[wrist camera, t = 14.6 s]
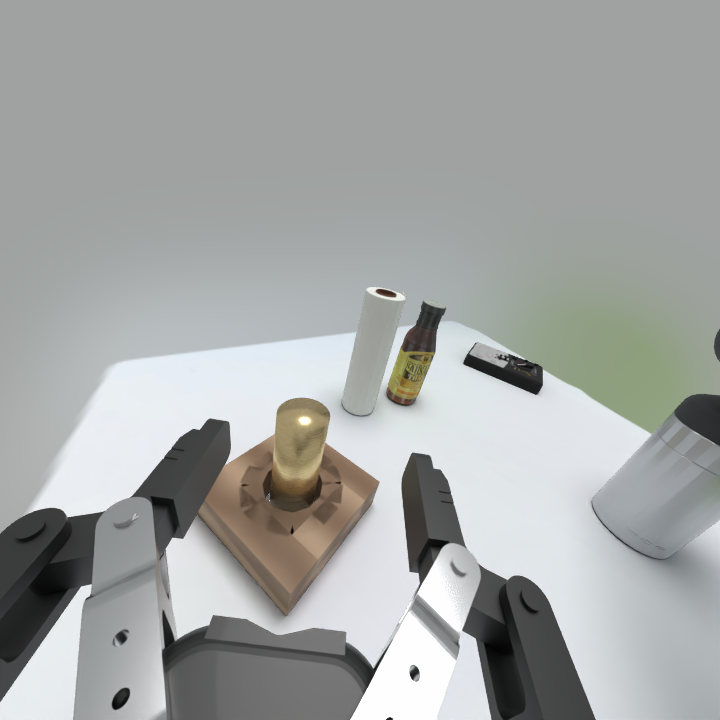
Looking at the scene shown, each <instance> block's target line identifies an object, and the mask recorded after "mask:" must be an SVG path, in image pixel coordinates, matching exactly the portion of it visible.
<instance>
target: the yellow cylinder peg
mask: <svg viewBox="0 0 720 720" xmlns="http://www.w3.org/2000/svg"><path fill="white" fill-rule="evenodd" d="M329 420H330V413H329V411H328V409H327V408H326V407H325V406H324V405H323V404H322V403H320V402H318V401H316V400H313V399H309V398H295V399H291V400H288V401H286V402H284V403H283V404H282V405H281V406H280V407H279V408H278V410H277V417H276V429H275V442H274V454H273V467H272V479H271V492H270V504H271V505H272V506H273V507H275V508H276V509H279V510H284V511H288V512H296V511H299V510H302V509H306V508H309V507H310V506H311V505H312V504H313V502H314V496H315V491H316V486H317V481H318V476H319V471H320V466H321V461H322V456H323V451H324V446H325V441H326V436H327V430H328V425H329Z"/></svg>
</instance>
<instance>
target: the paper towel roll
mask: <svg viewBox="0 0 720 720" xmlns="http://www.w3.org/2000/svg"><path fill="white" fill-rule="evenodd" d="M405 299H406V296H405V294H404V292H403V294H400V293H397V292H395V291H392V290H388V289H383V288H377V287H369V288H367V289H366V293H365V297H364V302H363V306H362V311H361V316H360V320H359V325H358V329H357V334H356V338H355V343H354V348H353V352H352V357H351V361H350V366H349V371H348V375H347V380H346V385H345V389H344V394H343V398H342V405H343V407H344V408H345V409H346V410H347V411H348V412H350V413H352V414H355V415H361V416H363V415H368V414H370V413H372V411H373V409H374V407H375V403H376V400H377V396H378V393H379V389H380V386H381V382H382V379H383V376H384V372H385V369H386V365H387V362H388V358H389V355H390V351H391V348H392V344H393V341H394V337H395V334H396V331H397V327H398V324H399V320H400V317H401V313H402V310H403V306H404V303H405Z"/></svg>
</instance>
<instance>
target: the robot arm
mask: <svg viewBox="0 0 720 720" xmlns="http://www.w3.org/2000/svg"><path fill="white" fill-rule="evenodd" d="M714 349H715V354H716V356H717V359H718V360H719V361H720V329H719V331H718V333H717V335H716V338H715V343H714ZM230 449H231V441H230V425H229V422H228V421H222V420H216V419H208V420H207V421H206V423H205V424H204V425H203V426H202V428H201V429H200V430H196V429H192V430H191V431H189V432H188V433H186V434H185V435H183V436H182V437H180V438H179V440H178V441H177V442H176V443H175V444H174V446H173V447H172V449H171V450H170V451H169V452H168V453H167V454H166V455H165V457H164V459H162V460H161V462H160V463H159V464H158V465H157V467H156V468H155V469H154V470H153V471H152V473H151V474H150V475H149V476H148V478H147V479H146V480H145V481H144V482H143V484H142V485H141V486H140V487H139V489H138V490H137V491H136V492H135V493H134V494H133V496H131V497H130V498H127V499H124V500H122V501H119V502H117V503H116V504H114V505H112V506H111V507H110V508H108V509H107V510H106V511H104V512H99V513H93V514H87V515H80V516H74V517H67V516H66V514H65V513H64V512H63V511H62V510H60V509H57V508H46V509H41V510H38V511H34V512H32V513H29V514H27V515H25V516H23V517H21V518H20V519H18V520H16V521H15V522H14V523H12V524H11V525H10V526H8V527H7V528H6V529H5V530H4V531H3V532H2V533H1V534H0V702H1V700H2V699H3V697H4V696H5V694H6V693H7V691H8V690H9V689H10V687H11V686H12V684H13V683H14V681H15V680H16V679H17V677H18V676H19V674H20V673H21V671H22V670H23V669H24V667H25V666H26V664H27V663H28V661H29V660H30V659H31V657H32V656H33V654H34V653H35V651H36V650H37V649H38V647H39V646H40V644H41V643H42V641H43V640H44V639H45V637H46V636H47V634H48V633H49V631H50V630H51V629H52V627H53V626H54V624H55V623H56V621H57V620H58V619H59V617H60V616H61V614H62V613H63V611H64V610H65V609H66V607H67V606H68V604H69V603H70V601H71V600H72V599H73V597H74V596H75V594H76V593H77V591H78V590H79V589H80V587H81V586H85V585H89V584H92V589H91V594H90V597H88V598H86V600H85V602H84V605H83V610H82V619H81V632H80V644H79V656H78V668H77V680H76V692H75V704H74V716H73V720H435V719H436V716H437V713H438V710H439V707H440V705H441V702H442V699H443V696H444V693H445V690H446V688H447V685H448V682H449V679H450V676H451V674H452V671H453V668H454V665H455V662H456V659H457V656H458V653H459V644H458V641H459V638H460V635H461V632H462V631H464V632H466V633H467V634H469V635H471V636H473V637H474V638H476V641H477V646H478V652H479V657H480V662H481V667H482V672H483V678H484V683H485V688H486V693H487V698H488V703H489V709H490V714H491V719H492V720H596V719H595V717H594V714H593V712H592V709H591V707H590V704H589V702H588V699H587V697H586V694H585V692H584V689H583V686H582V684H581V681H580V679H579V676H578V674H577V671H576V669H575V666H574V664H573V661H572V659H571V656H570V654H569V651H568V648H567V646H566V643H565V641H564V638H563V636H562V633H561V631H560V628H559V626H558V623H557V621H556V618H555V616H554V613H553V611H552V608H551V605H550V603H549V601H548V599H547V598H546V596H545V595H544V593H543V592H542V591H541V589H540V588H539V587H538V586H537V585H536V584H535V583H533V582H532V581H531V580H529V579H527V578H525V577H523V576H513V577H511V578H510V579H509V580H506V579H504V578H502V577H500V576H498V575H496V574H494V573H492V572H490V571H488V570H487V569H485V568H483V567H482V566H481V565H479V564H478V562H477V561H476V559H475V557H474V556H473V555H472V554H471V552H470V551H468V550H467V548H466V546H465V543H464V540H463V536H462V532H461V529H460V525H459V521H458V517H457V514H456V510H455V506H454V505H453V503H454V502H453V499H452V495H451V491H450V487H449V484H448V480H447V479H446V477H445V476H444V474H443V473H442V471H441V470H439V469H433V465H432V460H431V457H430V456H429V455H425V454H419V453H412V454H411V456H410V458H409V461H408V463H407V466H406V468H405V471H404V473H403V477H402V499H403V509H404V519H405V529H406V539H407V549H408V559H409V569H410V572H415V573H419V580H420V584H419V586H418V588H417V590H416V591H415V593H414V595H413V597H412V599H411V601H410V602H409V604H408V606H407V608H406V610H405V612H404V613H403V615H402V617H401V619H400V621H399V623H398V624H397V626H396V628H395V630H394V632H393V633H392V635H391V637H390V639H389V640H388V642H387V644H386V646H385V647H384V649H383V651H382V653H381V654H380V656H379V658H378V660H377V662H376V664H375V665H374V667H372V666H371V664H370V663H369V662H368V660H367V659H366V658H365V657H364V656H363V655H362V654H361V653H360V652H359V651H358V650H357V649H356V648H355V647H353V646H352V645H350V644H349V643H347V642H346V632H342V631H334V630H326V629H318V628H312V629H307V630H303V631H298V632H294V633H289V634H285V635H275V634H273V633H271V632H269V631H267V630H266V629H264V628H262V627H260V626H258V625H256V624H254V623H252V622H250V621H249V620H247V619H239V618H231V617H223V616H215V615H213V617H212V619H211V622H210V625H209V626H205V627H202V628H199V629H196V630H194V631H192V632H190V633H188V634H186V635H184V636H182V637H181V638H179V639H178V640H177V632H176V625H175V619H174V614H173V609H172V602H171V594H170V585H169V576H168V567H167V558H166V550H165V549H166V547H167V546H168V544H169V542H170V541H171V539H172V537H173V538H181V539H183V538H184V536H185V534H186V533H187V531H188V529H189V527H190V525H191V524H192V522H193V520H194V518H195V517H196V515H197V513H198V511H199V509H200V508H201V506H202V504H203V502H204V501H205V499H206V497H207V495H208V493H209V492H210V490H211V488H212V486H213V485H214V483H215V481H216V479H217V477H218V476H219V474H220V472H221V470H222V469H223V467H224V465H225V463H226V461H227V459H228V457H229V454H230ZM592 505H593V508H594V510H595V512H596V514H597V515H598V517H599V518H600V520H601V521H602V522H603V523H604V525H605V526H606V527H607V528H608V529H609V530H610V531H611V532H612V533H614V534H615V535H616V536H617V537H618V538H619V539H621V540H622V541H623V542H625V543H626V544H627V545H629V546H631V547H632V548H634V549H635V550H637V551H639V552H641V553H643V554H645V555H648V556H650V557H653V558H657V559H666V558H668V557H670V556H671V555H673V554H674V553H675V552H677V551H678V550H679V549H681V548H682V547H683V546H685V545H686V544H687V543H689V542H690V541H692V540H693V539H695V538H696V537H697V536H699V535H700V534H701V533H703V532H704V531H705V530H707V529H708V528H709V527H711V526H712V525H713V524H715V523H716V522H717V521H719V520H720V396H719V395H708V394H696V395H692V396H690V397H688V398H686V399H685V400H684V401H683V402H682V403H681V404H680V405H679V406H678V407H677V408H676V409H675V411H674V412H673V413H672V414H671V415H670V416H669V417H668V418H667V419H666V420H665V421H664V422H663V423H662V424H661V425H660V427H659V428H658V429H657V430H656V431H655V432H654V433H653V434H652V435H651V436H650V437H649V439H648V440H647V441H646V442H645V443H644V444H643V445H642V446H641V447H640V448H639V449H638V450H637V451H636V452H635V453H634V455H633V456H632V457H631V458H630V459H629V460H628V461H627V462H626V463H625V464H624V465H623V466H622V467H621V468H620V470H619V471H618V472H617V473H616V474H615V475H614V476H613V477H612V478H611V479H610V480H609V481H608V482H607V483H606V484H605V485H604V486H603V488H602V489H601V490H600V491H599V492H598V493H597V494H596V495H595V496H594V497H593V499H592Z"/></svg>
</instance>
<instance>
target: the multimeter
mask: <svg viewBox="0 0 720 720" xmlns="http://www.w3.org/2000/svg"><path fill="white" fill-rule="evenodd" d="M463 364H464V365H466V366H469V367H471V368H473V369H476V370H478V371H481V372H483V373H485V374H488V375H490V376H493V377H495V378H497V379H500V380H502V381H504V382H507V383H509V384H512V385H514V386H516V387H519V388H521V389H524V390H526V391H528V392H531V393H533V394H536V395H537V394H538V392H539V391H540V389H541V387H542V385H543V368H542V367H541V366H539V365H538V364H534V363H531V362H529V361H527V360H523V359H521V358H518V357H515V356H513V355H510V354H508V353H505V352H502V351H500V350H497V349H495V348H492V347H489V346H487V345H484V344H481V343H479V342H477V343H475V344H474V346H473V347H472V349H471V350H470V351H469V353H468V354H467V356H466V358H465V360H464V363H463Z"/></svg>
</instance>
